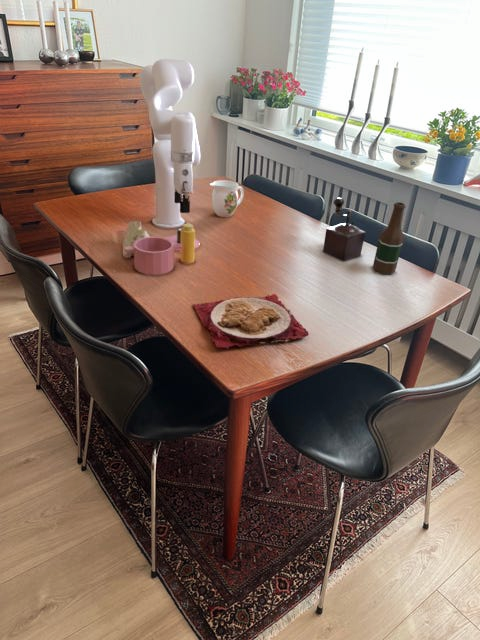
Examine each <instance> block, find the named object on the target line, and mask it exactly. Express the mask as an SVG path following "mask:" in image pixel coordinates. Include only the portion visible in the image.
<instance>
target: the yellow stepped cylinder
mask: <svg viewBox="0 0 480 640" xmlns="http://www.w3.org/2000/svg"><path fill="white" fill-rule="evenodd" d="M180 228H181V245H182V249H181V251H180V253H179V254H180V255H179V256H180V258H179V260H180V262H181V263H183V264H191V263H194V262H195V249H194V246H195V238H196V229H195V228H194V225H193V224H192V223H184V224H183V225H182V227H180Z"/></svg>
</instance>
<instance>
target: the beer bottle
mask: <svg viewBox="0 0 480 640" xmlns="http://www.w3.org/2000/svg"><path fill="white" fill-rule="evenodd" d="M405 209H406V204H405V203H403V202H400V201H399V202H398V201H397V202H394V204H393V209H392V212H391V216H390V219H389V222H388V224H387V226H386V227H385V228H384V229H383V230H382V231H381V233H380V235H379V238H378V242H377V246H376V251H375V255H374V259H373V264H372V269H373V270H374V272H375V273H377V274H380V275H383V276H392V275H393V274H395V273H396V269H397V266H398V263H399V259H400V254H401V251H402V247H403V244H404V233H403V230H402V222H403V216H404V211H405Z"/></svg>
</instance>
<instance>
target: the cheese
mask: <svg viewBox="0 0 480 640" xmlns="http://www.w3.org/2000/svg"><path fill="white" fill-rule="evenodd" d="M142 227H143V226H142V223H141V221H138V220H135V221H134V220H133V221H129V222H128V224H127V227H126V232H125V236H124V238H123V243H122V256H123V257H124V258H125V259H131V257H132V256H134V252H125V247H126V246H133V244H134V242H135V241H136V240H138V239H141V238H145V237H151V236H150V234H149V233H148V232H147V231H146V230H145V229H142Z"/></svg>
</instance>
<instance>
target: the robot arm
mask: <svg viewBox="0 0 480 640" xmlns="http://www.w3.org/2000/svg"><path fill="white" fill-rule="evenodd" d="M138 74H139V75H138V77H139V78H138V79H139V87H140V92H141V94H142V96H143V99H144V101H145V103H146V105H147V107H148V108H147V109H148V110H147V111H148V118H149V122H150V126H151V129H152V134H153V136H154V138H155V139H156V140H157V141H156V142H154V144H153V146H152V148H151V149H152V151H151V152H152V158H153V164H154V165H153V166H154V174H155V175H154V177H155V178H154V179H155V215H156V216H154V218H152V219H151V221H152V224H153V225H154V226H156V227H159V228H164V229H174V228H181V227H183V224H185V219H184V218H183V217H182V215H181V214H188V213H189V214H190V211H191V199H190V198H191V197H190V194H193V193H194V179H193V178H194V177H193V176H194V175H193V168H194V167H197V166H199V164H200V162H201V149H200V144H199V138H198V133H197V127H196V119H195V116H194V115H193V113H192V112H190V111H189V110H179V109H177V110H176V109H173V106H176V105H177V104H178V103H179V102H180V101H181V99H182V98H183V92H185V91H186V90H188V89H190V88H191V87H192V86H193V84H194V81H195V72H194V67H193V65H192V64H191V63H190V62H189V61H188V60H186V59H185V60H184V59H168V58H164V59H163V58H162V59H158V60H156V61H155V62H154V63H153V64H151V65H145V66H143V67H142V68H141V69H140V71H139V73H138Z"/></svg>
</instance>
